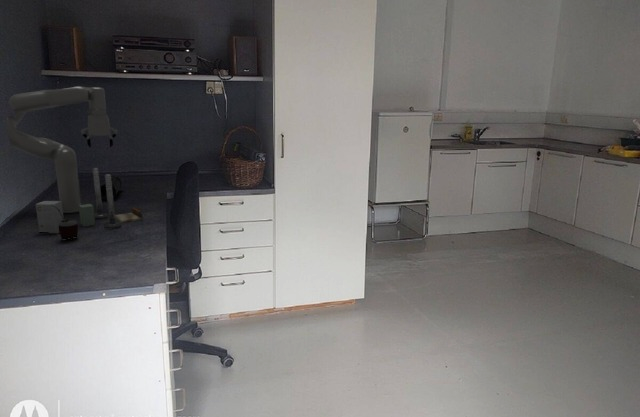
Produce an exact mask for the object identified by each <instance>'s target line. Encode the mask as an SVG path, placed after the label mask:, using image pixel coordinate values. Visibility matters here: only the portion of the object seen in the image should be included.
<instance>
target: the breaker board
mask: <svg viewBox="0 0 640 417" xmlns="http://www.w3.org/2000/svg"><path fill="white" fill-rule="evenodd" d="M143 220H144V218H143V214H142V211H141V210H139V209H137V208H136V207H132V209H131V212H128V213H121V214H115V221H117V222H121V224H123V223H129V222H135V221H143Z"/></svg>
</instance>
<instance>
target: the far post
mask: <svg viewBox="0 0 640 417" xmlns="http://www.w3.org/2000/svg"><path fill="white" fill-rule="evenodd" d="M99 175H100V172H99V167H92V177H93V185H94V186H93V187H94V195H95V203H96V205H95V206H96V213H95V212H94V217H95V220H103V219H108V218H109V212H105V211H104V212H103V205H102V204H103V203H102V202H103V201H102V198H101V192H100V186H101V184H100V176H99Z"/></svg>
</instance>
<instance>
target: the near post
mask: <svg viewBox="0 0 640 417" xmlns="http://www.w3.org/2000/svg"><path fill="white" fill-rule="evenodd" d="M111 175H112V174H110V173H105V174H104V181H106V191H107V200H106V201H107V209H108V210H107V211H108V212H107V213H108V222H104V224H103V225H104V226H103V227H105V228H116V229H119V228H121V227H122V223H121V222H119V221H116V219H115V215H116V214H115V204H114V198H113V192H112V182H111ZM105 228H104V229H105Z"/></svg>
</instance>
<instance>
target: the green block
mask: <svg viewBox="0 0 640 417" xmlns="http://www.w3.org/2000/svg"><path fill="white" fill-rule="evenodd" d="M94 210H95V208H94V205H93V204H91V203H86V204H81V205H79V212H78V213H79V219H80V220H79V221H80V225H81V224H82V225H83V226H86V227H91V226H90V225H93V226H96V219H95V217H94V214H95V211H94ZM82 225H81V226H82ZM83 226H82V227H83Z"/></svg>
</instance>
